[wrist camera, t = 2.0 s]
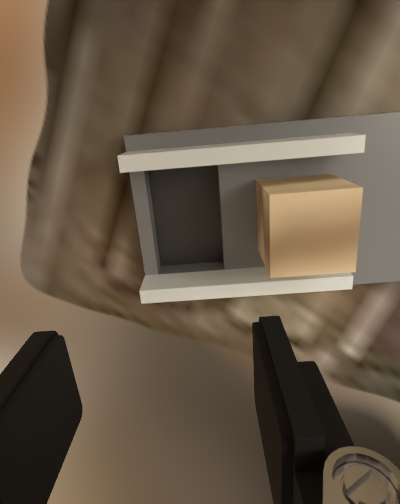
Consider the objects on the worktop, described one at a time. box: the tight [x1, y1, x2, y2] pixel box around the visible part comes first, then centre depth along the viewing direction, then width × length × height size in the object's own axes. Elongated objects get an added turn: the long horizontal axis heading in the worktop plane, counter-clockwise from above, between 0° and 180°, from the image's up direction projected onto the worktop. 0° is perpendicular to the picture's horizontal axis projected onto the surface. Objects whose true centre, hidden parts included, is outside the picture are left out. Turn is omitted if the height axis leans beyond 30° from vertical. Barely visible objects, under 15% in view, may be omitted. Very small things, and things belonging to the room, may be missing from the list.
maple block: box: [256, 174, 363, 278], centre depth 22 cm, size 5×5×5 cm
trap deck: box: [117, 111, 400, 304], centre depth 24 cm, size 12×25×4 cm, turn 95°
